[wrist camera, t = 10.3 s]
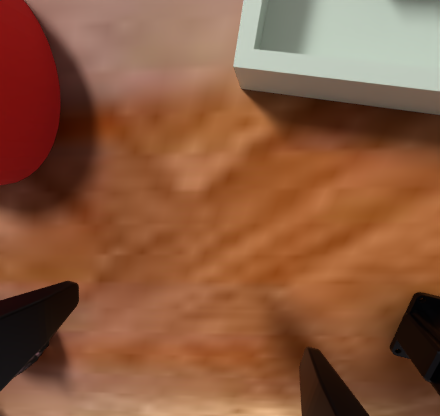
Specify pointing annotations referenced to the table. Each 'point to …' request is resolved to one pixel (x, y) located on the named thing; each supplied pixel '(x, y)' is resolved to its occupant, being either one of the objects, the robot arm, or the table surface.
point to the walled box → (343, 51)
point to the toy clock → (25, 93)
